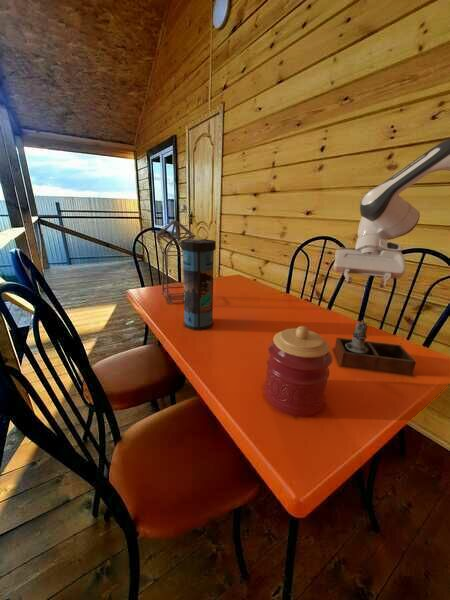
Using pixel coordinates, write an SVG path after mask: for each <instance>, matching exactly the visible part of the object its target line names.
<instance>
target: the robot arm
mask: <svg viewBox="0 0 450 600" xmlns="http://www.w3.org/2000/svg"><path fill="white" fill-rule="evenodd" d="M441 171H448V172H450V138H448V139H445V140H443V141H441V142H440V143H437V144H436V145H435V146H433V147H431V148H430V149H429V150H427V151H426V152H424V153H423V154H422V155H420V156H418V157H417V158H416V159H414V160H413V161H411V162H410V163H409V164H407V165H406V166H404V168H401V170H399V171H398V172H396V173H395V174H394V175H392V176H391V177H389V178H388V179H386V180H385V181H383V182H382V183H380V184H378V185H376V186H374V187H373V188H371V189H370V190H368V191H367V192H366V193H365V194H364V195H363V197H362V198H361V200H360V204H359V212H360V216H361V217H360V220H359V224H358V228H357V239H356V241H355V246H354V247H340V248H337V249H336V250H335V252H334V257H335V259H334V262H333V268H332V269H333V271H334V272H336V273H343V276H344V278H345V279H346V281H345V284H348V285H352V281H353V276H350V274H352V275H353V274H354V275H362V276H370V277H371V276H372V277H381V278H382V277H383V280H382V279H381V280H379V281H380V282H379V286H378V288H381V289H385V288H386V286H387V283H388V282H389V281H390V279H401V278H403V276H404V275H405V272H406V259H405V255H404V254H403V253H402V251H403V245H401V244H399V243H396V242H393V241H392V242H391V240H394V239H398V238H400V237H404V236H406V235H408V234H410V233H411V232H412V231H413V230H414V229H415V228H416V227H417V225H418V223H419V220H420V217H421V215H420V210H418V209H417V208H416V207H414V205H412V204H411V203H410V202H409V201H406V200H405V199H404V198H403V197H402V196H401V195H400V194H401V193H403V192H404V191H406V190H407V189H409V188H410V187H411V186H413V185H414V184H417V182H419V181H420V180H422V179H423V178H425V177H426V176H428V175H431V174H433V173H434V172H441Z"/></svg>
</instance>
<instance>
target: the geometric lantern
mask: <svg viewBox="0 0 450 600" xmlns="http://www.w3.org/2000/svg"><path fill="white" fill-rule="evenodd" d="M171 226H172V229H171V233H168V232H166V231H168V230H169V228H170V227H171ZM179 228H181V229H182V231H184V232H180V229H179ZM175 231H176V233H175ZM155 234H156V240H157V243H158V246H159V249H160V252H161V255H162V256H161V257H162V259H161V260H162V261H161V263H162V265H161V266H162V271H161V285H162V286H161V296H162V297H164V298H165V299H166V300H168V304H171V305H175V304H177V302H173V301H182V300H183V301H184V292H177V293H170V291H169V289H184V286H169V274H168V273H169V268H168V267H169V264H168V263H169V261H168V259H169V257H183V254H168V253H183V250H171V248H172V246H179V247H180V248H181V240H183V239H195V238H196V237H197V236H196V234H194V233H193V232H192V231H190V230H189V229H188V228H187V227H185V225H183V224H182V223H180V222H179V221H178V220H171V221H170V222H169V223H167V224H166V225H165V226H164V227H162V228H161V229H159V230H158V231H157V232H155ZM181 235H183V236H181ZM166 238H167V239H168V240H167V239H166ZM160 240H163V241H164V242H166V243H167V244H168V246H167V248H166V250H165V248H164V246H163V243H162V242H161V241H160ZM169 240H170V241H169ZM173 242H177V243H173ZM165 285H166V287H165ZM164 293H165V294H166V295H165V294H164ZM179 297H183V298H179Z"/></svg>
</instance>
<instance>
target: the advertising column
mask: <svg viewBox="0 0 450 600" xmlns="http://www.w3.org/2000/svg"><path fill="white" fill-rule="evenodd" d="M180 242H181V244H180V245H181V247H180V249H181V251H183V252H182V255H183V256H182V268H183V270H182V271H183V273H182V274H183V287H184V288H183V293H184V297H183V312H184V313H183V314H184V326H185V327H186V328H187V329H189V330H192V331H204V330H207V329H210V328H211V327H213V320H214V319H213V317H214V315H213V314H214V310H213V309H214V264H215V263H214V259H215V258H214V255H215V252H214V251H216V250H217V249H216V248H217V247H216V245H217V242H216V240H213V239H206V238H205V239H204V238H194V239H187V238H184V239H181V240H180Z"/></svg>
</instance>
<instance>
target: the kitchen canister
mask: <svg viewBox="0 0 450 600" xmlns="http://www.w3.org/2000/svg"><path fill="white" fill-rule="evenodd" d="M267 349H268V353H269V356H268V358H267V361H266V367H267V369H266V377H265V378H266V379H265V381H264V393H265V399H266V400H267V402H268V403H269V404H270V406H272V407H273V408H274V409H276V410H277V411H279V412H281V413H283V414H285V415H288V416H291V417H296V418H306V417H312V416H314V415H316V414H317V413H319V412H320V411H321V410H322V407H323V406H324V403H325V399H326V391H327V390H326V389H327V384H328V379H329V377H330V368H329V367H330V366H331V365H332V363H333V356H332V354H331V352H330V351H331V350H330V349H331V346H330V344H329V342H328V341H327V340H326V339H325V338H323V337H322V335H320V334H318V333H316V332H315V331H312V330H309V329H308V327H307V326H306V325H305V326H304V325H300V326H298V327H291V328H286V329H284V330H281V331H279V332H277V333H275V335H274V336H273V339H272V341H271V343H269V345H268V348H267Z"/></svg>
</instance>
